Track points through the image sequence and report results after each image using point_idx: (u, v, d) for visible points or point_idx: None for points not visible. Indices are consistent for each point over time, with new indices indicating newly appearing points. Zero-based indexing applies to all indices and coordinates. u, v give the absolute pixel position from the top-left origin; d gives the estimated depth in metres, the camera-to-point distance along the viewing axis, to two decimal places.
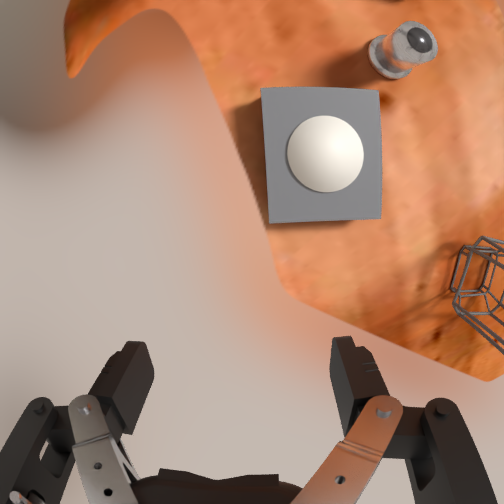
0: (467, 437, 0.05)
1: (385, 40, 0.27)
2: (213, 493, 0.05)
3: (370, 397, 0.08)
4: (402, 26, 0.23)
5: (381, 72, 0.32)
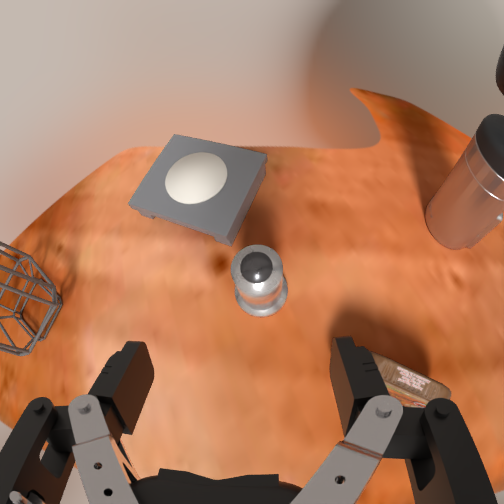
0: (468, 437, 0.05)
1: None
2: (213, 493, 0.05)
3: (370, 397, 0.08)
4: (277, 256, 0.31)
5: None
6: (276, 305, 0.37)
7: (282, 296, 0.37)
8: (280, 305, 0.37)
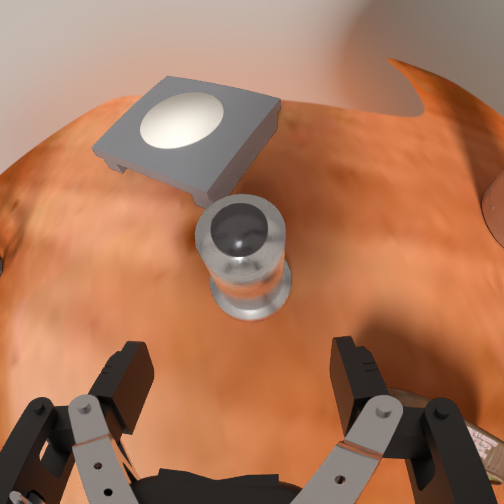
0: (468, 437, 0.05)
1: None
2: (213, 493, 0.05)
3: (370, 397, 0.08)
4: (278, 215, 0.17)
5: None
6: (271, 305, 0.23)
7: (282, 292, 0.24)
8: (277, 306, 0.23)
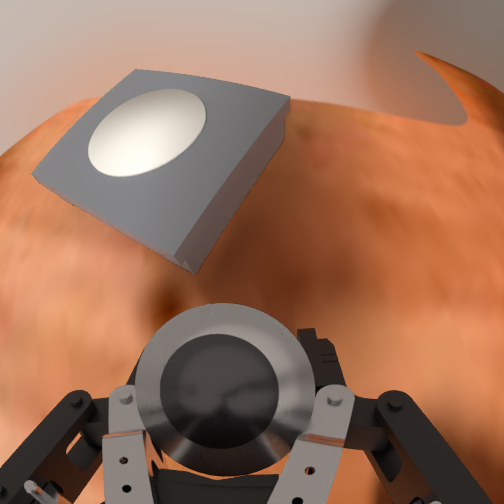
0: (428, 424, 0.06)
1: None
2: (213, 493, 0.05)
3: (324, 386, 0.09)
4: (300, 357, 0.08)
5: None
6: None
7: None
8: None
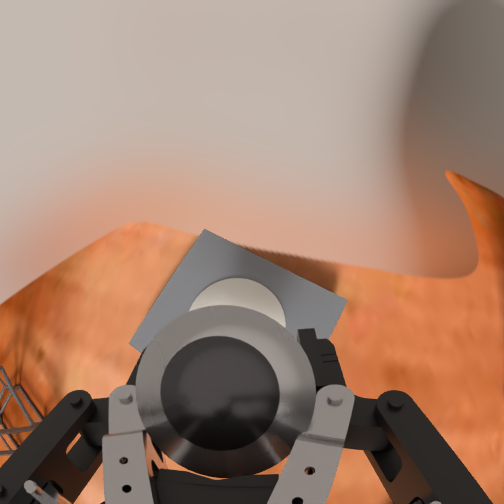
0: (428, 424, 0.06)
1: None
2: (213, 493, 0.05)
3: (324, 386, 0.09)
4: (301, 359, 0.08)
5: None
6: None
7: None
8: None
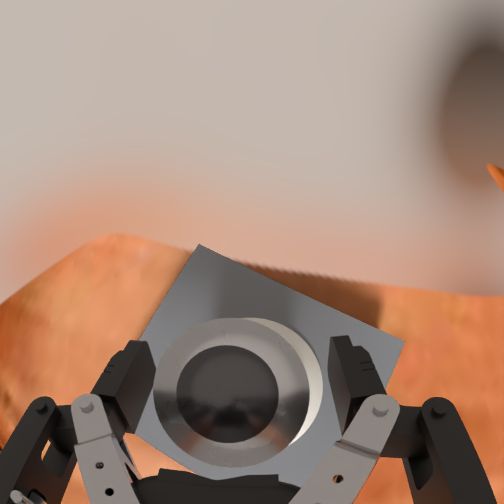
0: (465, 436, 0.06)
1: None
2: (213, 493, 0.05)
3: (367, 396, 0.08)
4: (297, 365, 0.09)
5: None
6: None
7: None
8: None
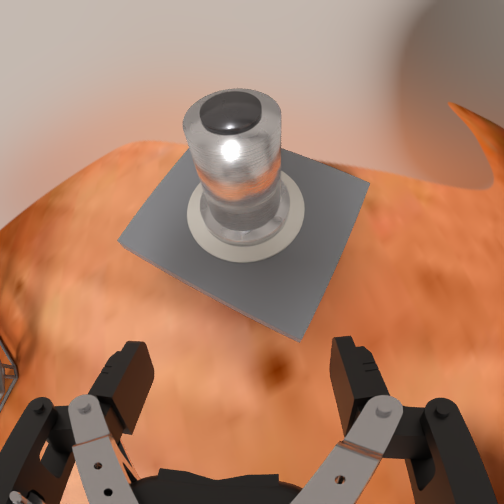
0: (468, 437, 0.05)
1: None
2: (213, 493, 0.05)
3: (370, 397, 0.08)
4: (272, 103, 0.15)
5: None
6: (267, 225, 0.21)
7: (279, 212, 0.21)
8: (274, 226, 0.21)
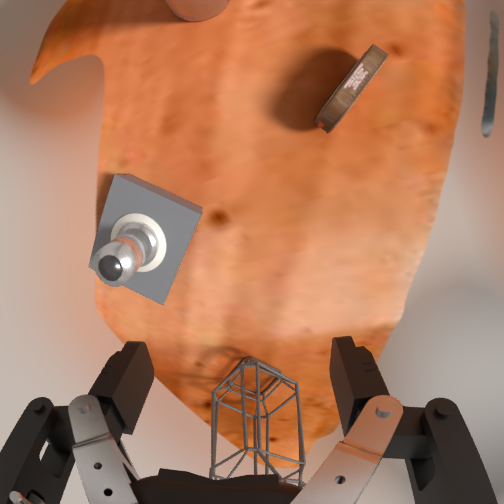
0: (468, 437, 0.05)
1: None
2: (213, 493, 0.05)
3: (370, 397, 0.08)
4: (101, 250, 0.33)
5: None
6: (147, 234, 0.41)
7: (140, 228, 0.40)
8: (147, 230, 0.40)
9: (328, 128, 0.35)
